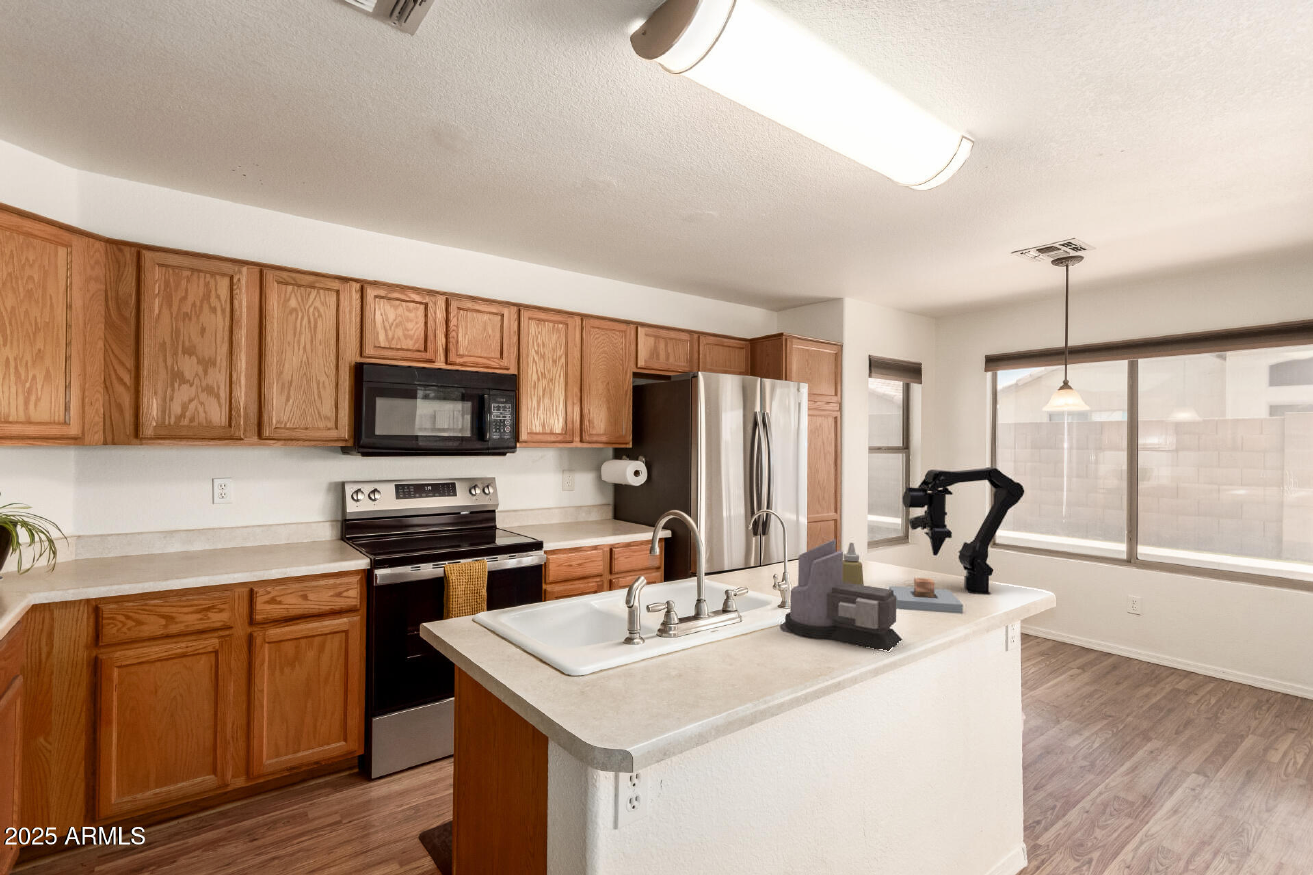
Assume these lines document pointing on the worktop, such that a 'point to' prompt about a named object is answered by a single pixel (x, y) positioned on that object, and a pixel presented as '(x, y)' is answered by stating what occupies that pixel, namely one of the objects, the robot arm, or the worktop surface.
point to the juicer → (839, 604)
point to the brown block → (924, 587)
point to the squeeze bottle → (852, 567)
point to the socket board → (927, 600)
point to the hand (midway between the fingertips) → (935, 555)
